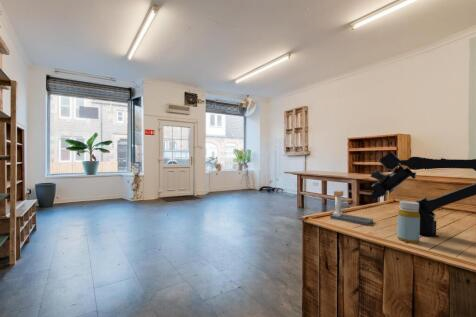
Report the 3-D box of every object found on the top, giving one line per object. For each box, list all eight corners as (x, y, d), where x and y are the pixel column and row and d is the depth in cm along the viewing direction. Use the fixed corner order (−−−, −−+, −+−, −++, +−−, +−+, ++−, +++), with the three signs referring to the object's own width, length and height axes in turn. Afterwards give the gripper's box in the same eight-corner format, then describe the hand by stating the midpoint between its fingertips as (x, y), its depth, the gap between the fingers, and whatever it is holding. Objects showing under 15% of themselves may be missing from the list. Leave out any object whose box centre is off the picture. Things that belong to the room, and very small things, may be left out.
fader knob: (343, 214, 127) (344, 191, 127) (340, 216, 124) (340, 192, 123) (336, 213, 130) (336, 190, 130) (332, 214, 126) (332, 191, 126)
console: (373, 222, 119) (373, 219, 119) (368, 225, 113) (368, 222, 113) (336, 215, 132) (336, 212, 132) (330, 218, 125) (330, 215, 125)
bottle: (423, 244, 89) (424, 204, 89) (402, 242, 91) (403, 203, 91) (413, 238, 96) (414, 201, 96) (394, 236, 98) (395, 200, 98)
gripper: (387, 164, 120) (362, 184, 127) (377, 165, 106) (350, 187, 114) (405, 181, 114) (379, 201, 122) (398, 184, 101) (368, 206, 108)
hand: (369, 198), depth 117 cm, fingers closed
